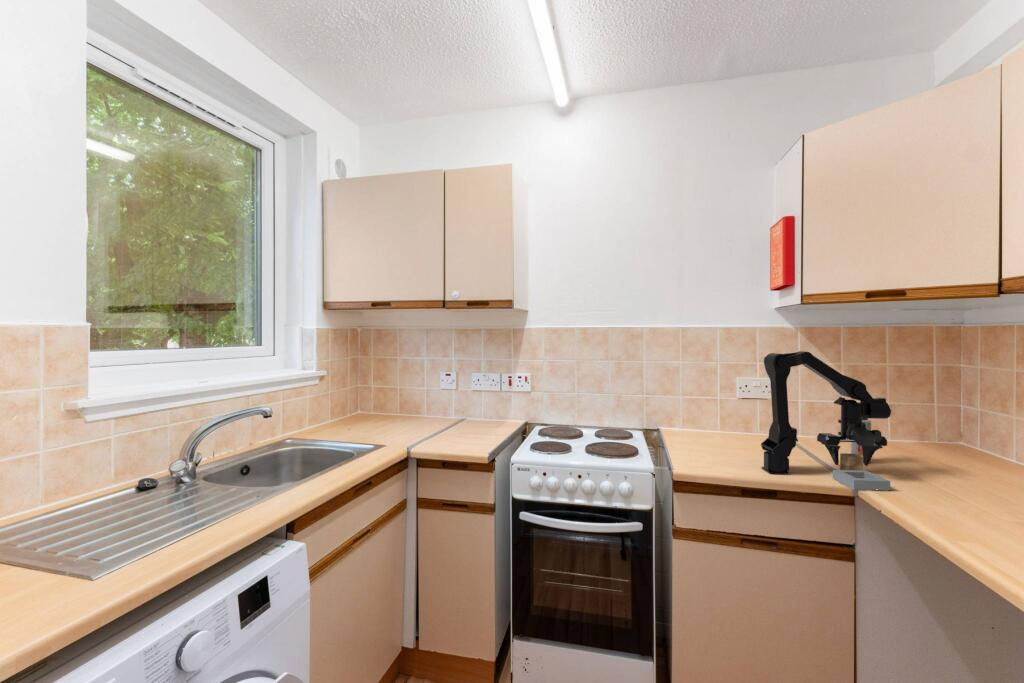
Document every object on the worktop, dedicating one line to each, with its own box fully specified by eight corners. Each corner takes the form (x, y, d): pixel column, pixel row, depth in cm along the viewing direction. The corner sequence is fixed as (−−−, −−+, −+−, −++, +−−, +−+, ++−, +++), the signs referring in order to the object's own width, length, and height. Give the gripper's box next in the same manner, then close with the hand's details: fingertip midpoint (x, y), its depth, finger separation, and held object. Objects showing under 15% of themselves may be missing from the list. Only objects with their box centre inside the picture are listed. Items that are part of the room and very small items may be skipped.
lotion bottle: (874, 464, 157) (874, 407, 157) (856, 463, 158) (856, 407, 158) (865, 459, 163) (865, 405, 163) (847, 459, 164) (847, 404, 164)
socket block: (854, 490, 132) (854, 480, 132) (832, 479, 142) (832, 469, 142) (890, 491, 131) (890, 481, 131) (866, 480, 141) (866, 470, 141)
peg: (848, 475, 146) (848, 457, 146) (840, 471, 150) (840, 453, 150) (863, 475, 145) (863, 457, 145) (853, 471, 150) (854, 453, 150)
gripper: (837, 422, 140) (836, 472, 141) (900, 423, 139) (900, 473, 139) (816, 416, 151) (816, 462, 152) (874, 416, 150) (874, 463, 150)
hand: (851, 465), depth 148 cm, fingers open, 9 cm apart
